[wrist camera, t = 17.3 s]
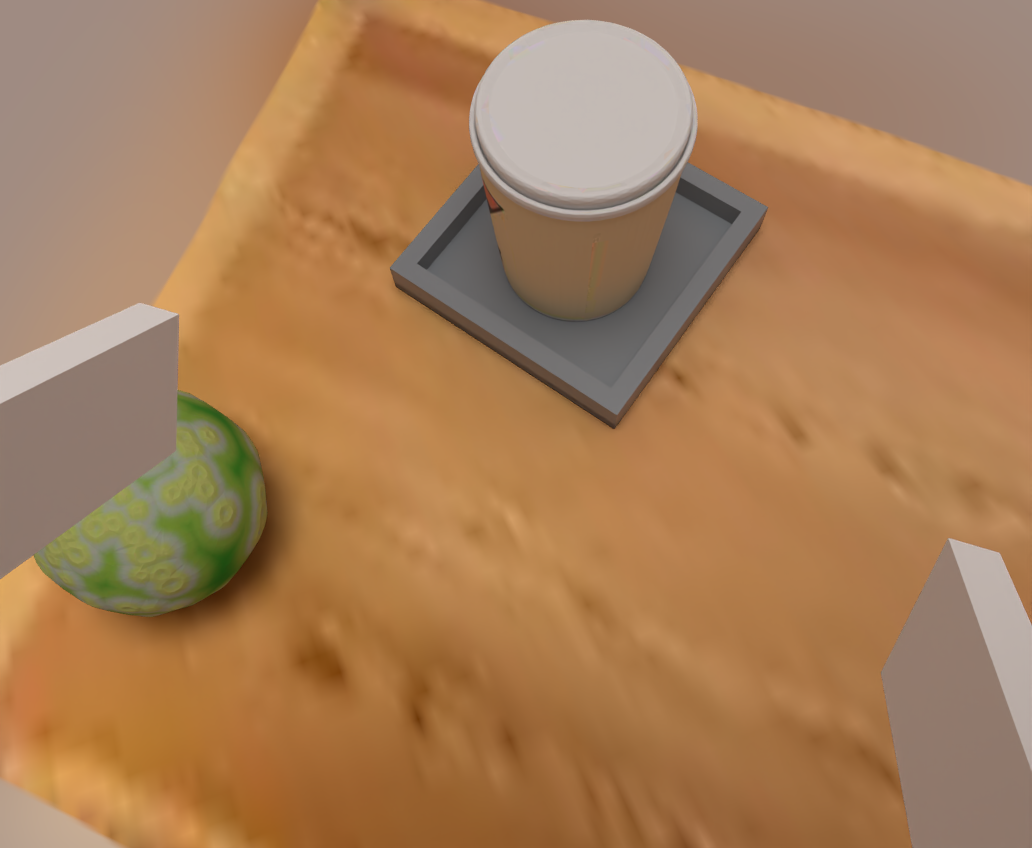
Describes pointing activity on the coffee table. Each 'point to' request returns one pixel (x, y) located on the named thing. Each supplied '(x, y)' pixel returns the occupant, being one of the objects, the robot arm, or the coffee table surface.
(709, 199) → the tray
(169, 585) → the decorative ball
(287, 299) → the coffee table surface
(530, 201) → the coffee cup
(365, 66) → the coffee table surface
